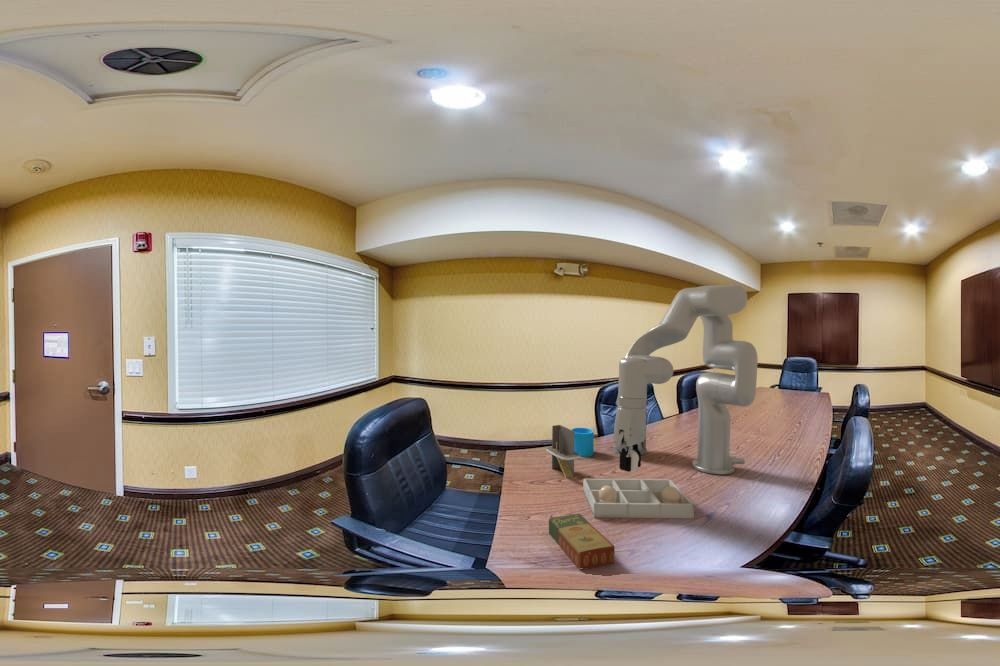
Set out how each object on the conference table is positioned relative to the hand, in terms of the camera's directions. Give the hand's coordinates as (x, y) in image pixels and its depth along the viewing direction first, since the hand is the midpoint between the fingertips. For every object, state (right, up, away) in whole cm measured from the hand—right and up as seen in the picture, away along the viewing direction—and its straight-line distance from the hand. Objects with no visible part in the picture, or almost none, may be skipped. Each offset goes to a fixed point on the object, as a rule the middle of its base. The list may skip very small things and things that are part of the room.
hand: (630, 467), depth 126 cm
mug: (-8, -7, +38) cm, 39 cm away
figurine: (+11, -6, +40) cm, 42 cm away
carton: (-19, -11, -26) cm, 33 cm away
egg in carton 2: (+8, -8, -8) cm, 14 cm away
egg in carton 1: (-8, -8, -7) cm, 14 cm away
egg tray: (0, -9, -3) cm, 9 cm away
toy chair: (-16, -8, +19) cm, 26 cm away
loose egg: (0, -1, 0) cm, 1 cm away
